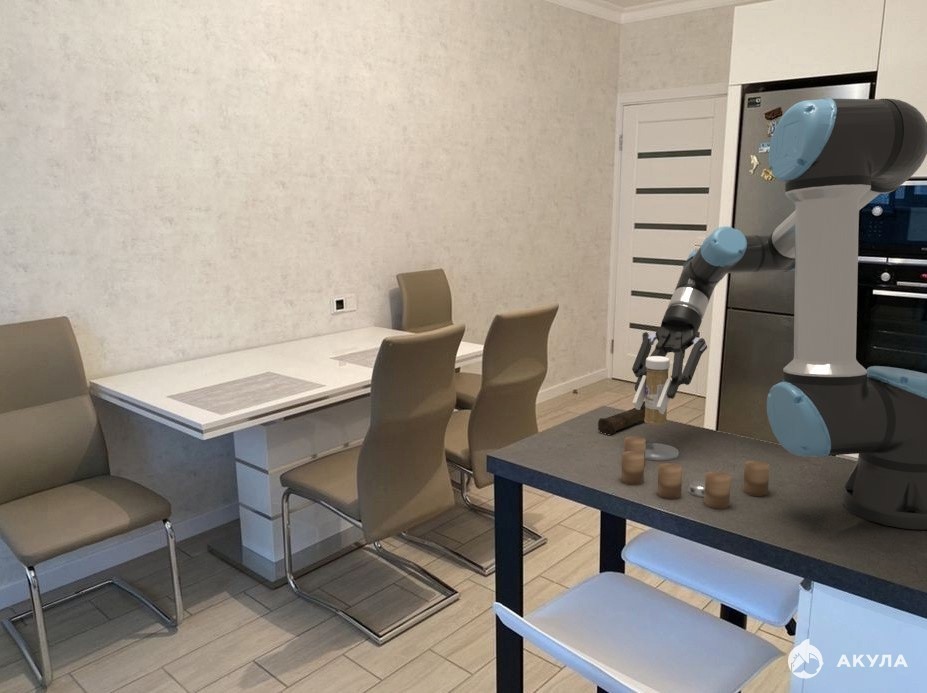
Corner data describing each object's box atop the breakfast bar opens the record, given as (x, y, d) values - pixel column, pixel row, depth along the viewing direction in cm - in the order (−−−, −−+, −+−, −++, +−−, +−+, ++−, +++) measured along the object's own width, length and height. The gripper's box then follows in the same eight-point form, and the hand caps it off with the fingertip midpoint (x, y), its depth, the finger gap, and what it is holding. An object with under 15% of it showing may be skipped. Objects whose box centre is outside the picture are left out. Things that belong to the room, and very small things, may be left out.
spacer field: (772, 492, 123) (774, 465, 122) (700, 517, 114) (702, 488, 113) (662, 451, 145) (663, 428, 144) (594, 469, 136) (595, 444, 135)
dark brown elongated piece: (611, 437, 155) (611, 417, 154) (596, 433, 158) (597, 413, 157) (662, 420, 167) (663, 401, 166) (648, 416, 170) (649, 398, 169)
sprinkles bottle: (639, 420, 145) (641, 356, 142) (658, 418, 146) (661, 354, 143) (652, 427, 140) (654, 361, 138) (672, 424, 142) (674, 359, 139)
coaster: (688, 455, 142) (688, 452, 142) (655, 464, 138) (655, 461, 138) (655, 443, 150) (655, 440, 150) (623, 451, 146) (623, 448, 146)
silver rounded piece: (715, 492, 124) (716, 484, 124) (707, 500, 121) (707, 491, 121) (693, 487, 127) (693, 479, 127) (684, 494, 124) (685, 486, 123)
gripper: (729, 328, 146) (695, 425, 137) (650, 321, 157) (614, 410, 148) (722, 306, 141) (685, 405, 132) (640, 300, 152) (602, 391, 143)
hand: (648, 408), depth 140 cm, fingers closed on sprinkles bottle, 4 cm apart
